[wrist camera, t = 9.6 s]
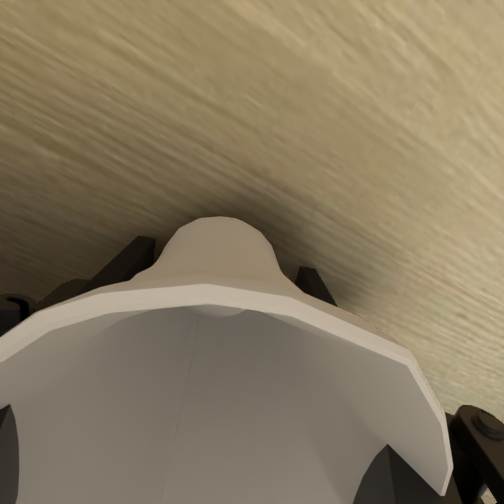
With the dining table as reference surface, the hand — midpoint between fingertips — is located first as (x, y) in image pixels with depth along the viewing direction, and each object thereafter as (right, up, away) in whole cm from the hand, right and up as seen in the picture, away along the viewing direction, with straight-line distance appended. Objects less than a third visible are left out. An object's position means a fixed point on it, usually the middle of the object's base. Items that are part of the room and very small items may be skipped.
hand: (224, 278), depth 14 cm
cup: (0, 0, 0) cm, 0 cm away
